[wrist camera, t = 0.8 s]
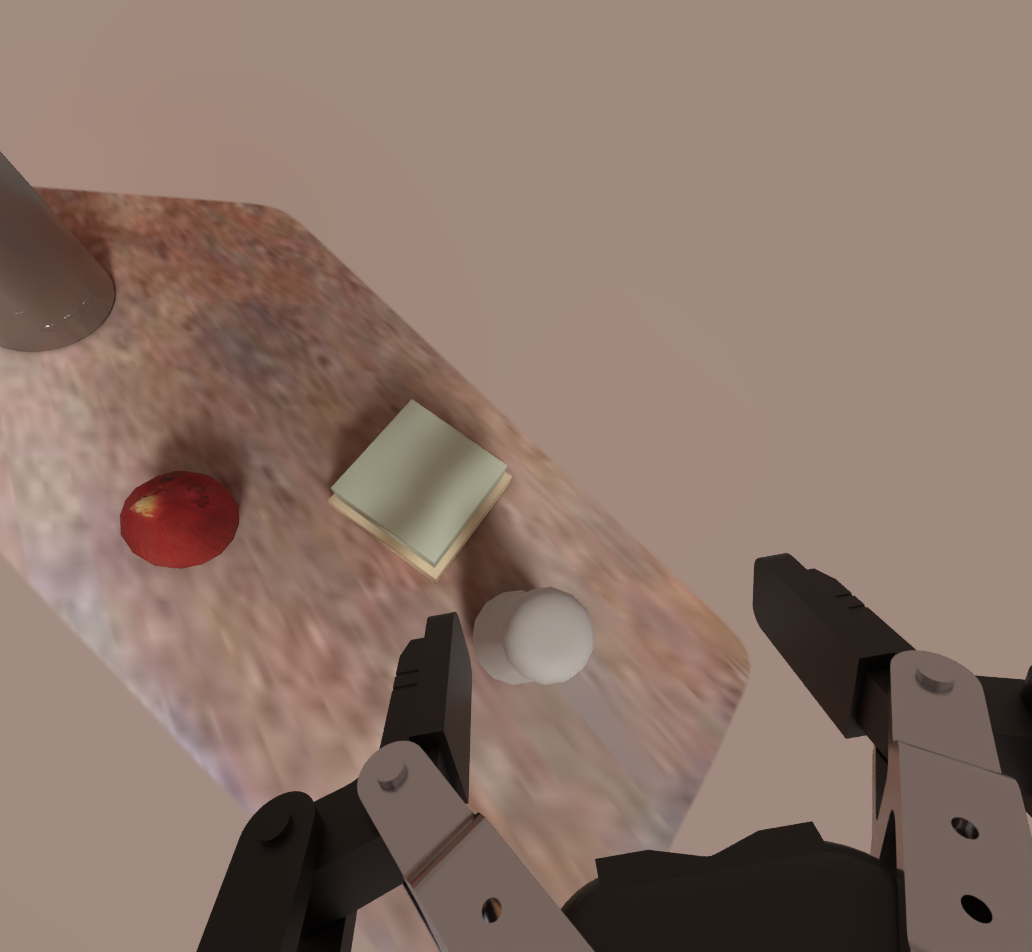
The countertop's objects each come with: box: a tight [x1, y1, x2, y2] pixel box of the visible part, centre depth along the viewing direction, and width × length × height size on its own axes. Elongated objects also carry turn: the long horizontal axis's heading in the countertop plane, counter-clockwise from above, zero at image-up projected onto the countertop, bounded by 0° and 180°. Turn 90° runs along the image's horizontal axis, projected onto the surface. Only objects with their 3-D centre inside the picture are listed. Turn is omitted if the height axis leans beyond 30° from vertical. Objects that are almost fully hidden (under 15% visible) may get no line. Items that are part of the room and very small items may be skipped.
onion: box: [120, 471, 239, 568], centre depth 29 cm, size 6×6×8 cm
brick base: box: [328, 399, 512, 583], centre depth 33 cm, size 9×9×5 cm
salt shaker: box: [472, 587, 594, 685], centre depth 27 cm, size 6×6×13 cm
